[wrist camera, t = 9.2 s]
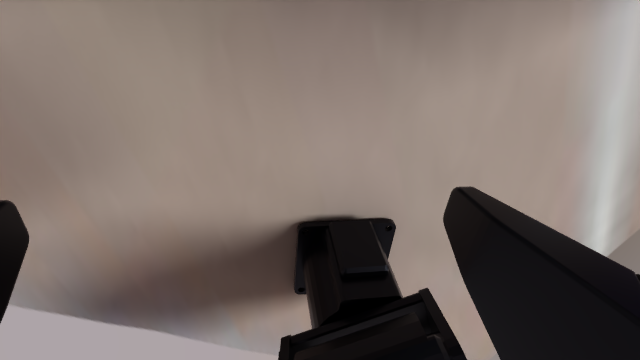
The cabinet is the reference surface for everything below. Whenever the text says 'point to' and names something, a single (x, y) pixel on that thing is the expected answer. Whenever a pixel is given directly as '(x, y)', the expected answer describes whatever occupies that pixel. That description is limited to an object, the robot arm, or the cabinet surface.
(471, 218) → the robot arm
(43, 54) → the cabinet surface
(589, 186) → the cabinet surface
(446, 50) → the cabinet surface
